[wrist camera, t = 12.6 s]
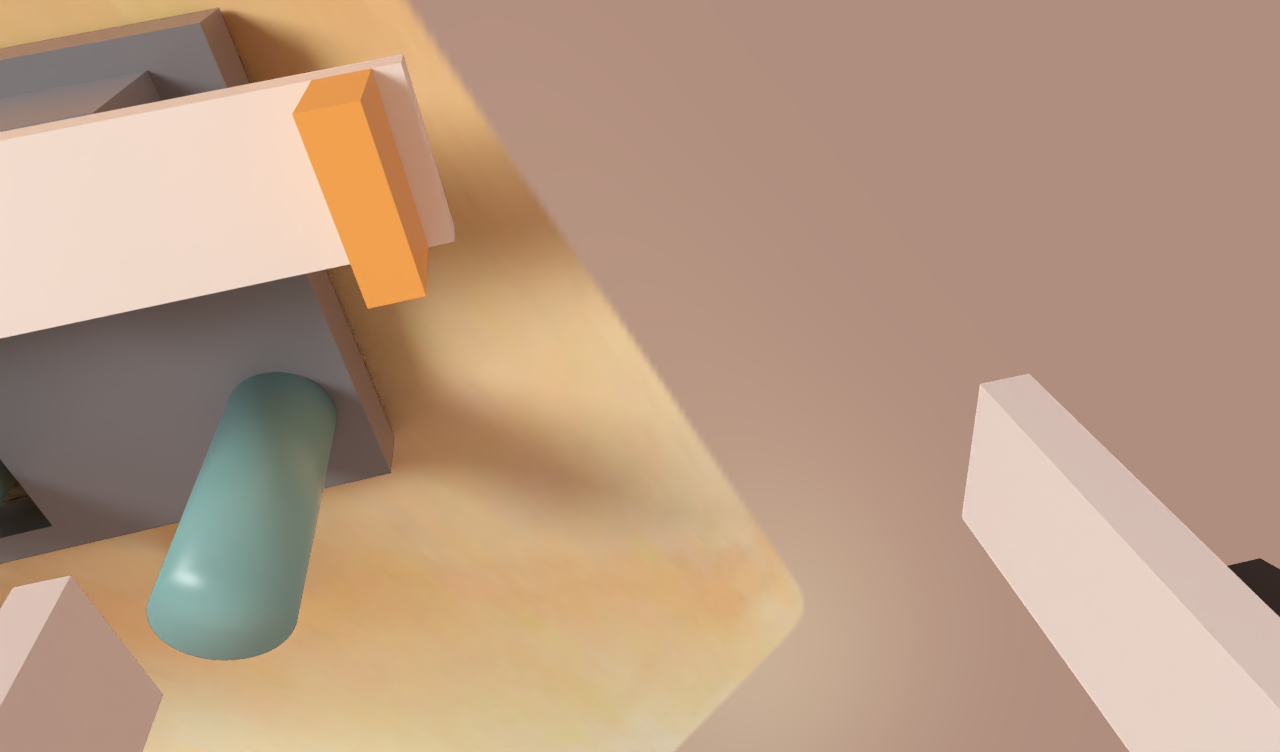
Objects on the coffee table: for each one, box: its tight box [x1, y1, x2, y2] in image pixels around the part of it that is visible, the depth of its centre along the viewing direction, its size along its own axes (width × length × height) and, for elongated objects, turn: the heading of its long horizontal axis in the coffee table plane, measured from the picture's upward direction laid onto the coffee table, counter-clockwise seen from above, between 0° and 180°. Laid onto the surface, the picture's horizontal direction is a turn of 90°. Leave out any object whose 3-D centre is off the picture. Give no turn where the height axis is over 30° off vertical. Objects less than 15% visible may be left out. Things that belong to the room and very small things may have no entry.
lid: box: [0, 54, 455, 338], centre depth 21 cm, size 16×5×4 cm, turn 98°
